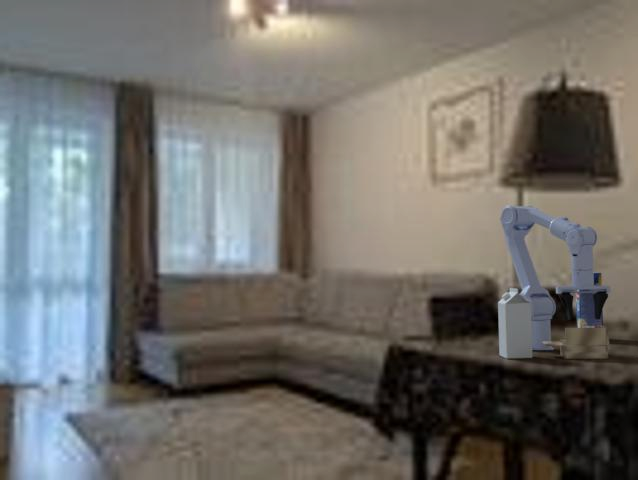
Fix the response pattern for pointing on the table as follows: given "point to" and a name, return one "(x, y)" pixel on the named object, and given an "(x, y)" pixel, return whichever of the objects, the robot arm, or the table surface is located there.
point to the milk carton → (514, 326)
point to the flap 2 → (606, 334)
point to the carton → (579, 350)
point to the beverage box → (588, 307)
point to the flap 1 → (585, 336)
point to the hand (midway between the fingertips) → (583, 319)
